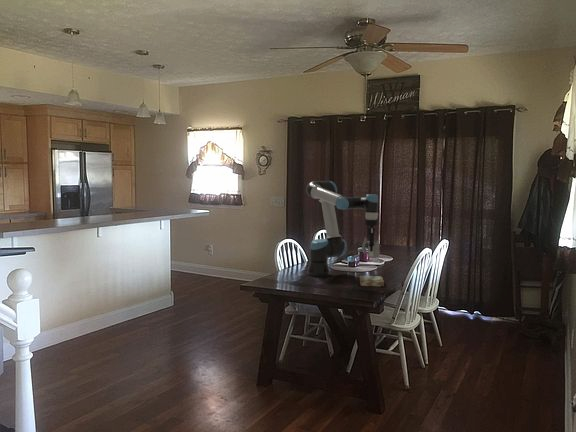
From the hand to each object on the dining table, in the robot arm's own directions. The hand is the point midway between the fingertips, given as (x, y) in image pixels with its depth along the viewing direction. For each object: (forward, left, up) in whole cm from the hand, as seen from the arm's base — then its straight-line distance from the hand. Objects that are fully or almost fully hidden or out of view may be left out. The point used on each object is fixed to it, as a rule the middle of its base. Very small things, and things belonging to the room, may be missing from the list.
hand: (370, 255), depth 299 cm
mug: (0, +1, -1) cm, 1 cm away
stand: (+1, 0, -18) cm, 18 cm away
